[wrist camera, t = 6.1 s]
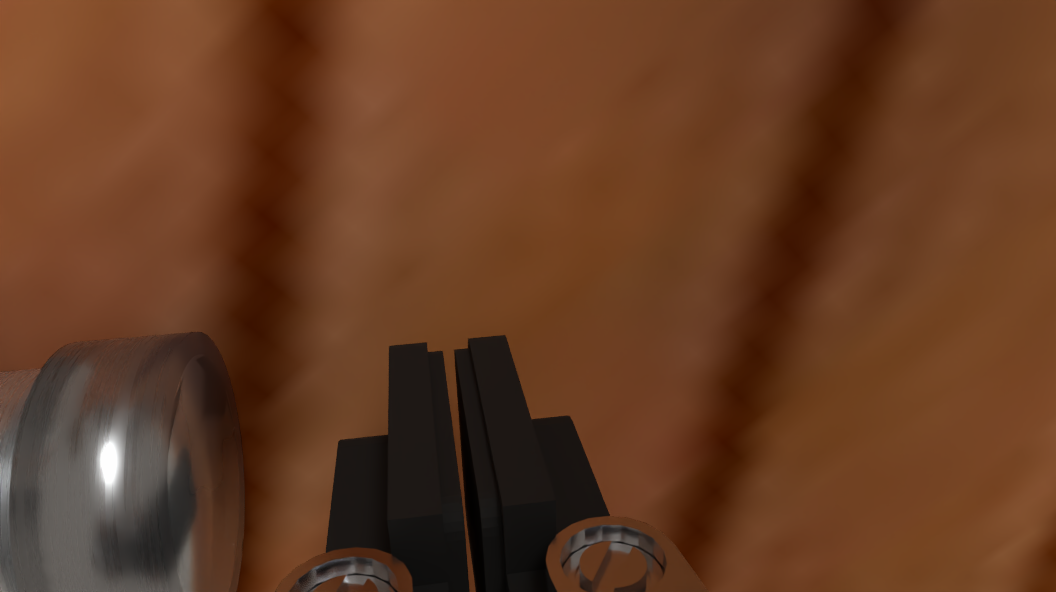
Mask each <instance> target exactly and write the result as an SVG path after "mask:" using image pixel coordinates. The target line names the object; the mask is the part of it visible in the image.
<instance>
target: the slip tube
mask: <svg viewBox="0 0 1056 592" xmlns="http://www.w3.org/2000/svg"><path fill="white" fill-rule="evenodd" d="M244 510H245V494H244V467H243V453H242V443H241V434H240V427H239V420H238V414H237V408H236V403H235V398H234V394H233V390H232V386H231V382H230V378H229V375H228V372H227V369H226V366H225V364H224V361H223V359H222V356H221V354H220V352H219V350H218V348H217V347H216V345H215V344H214V342H213V341H212V340H211V339H210V338H209V337H208V336H207V335H206V334H204V333H202V332H189V333H177V334H165V335H153V336H142V337H130V338H118V339H106V340H94V341H82V342H74V343H70V344H67V345H65V346H64V347H62V348H60V349H59V350H57V351H56V352H55V353H54V354H53V355H52V356H51V357H50V358H49V359H48V361H47V362H46V363H45V365H44V366H43V367H42V368H40V369H29V370H17V371H6V372H0V592H236V591H237V586H238V580H239V574H240V567H241V559H242V549H243V537H244Z"/></svg>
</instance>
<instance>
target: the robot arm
mask: <svg viewBox="0 0 1056 592" xmlns="http://www.w3.org/2000/svg"><path fill="white" fill-rule="evenodd" d="M454 354H455V369H456V383H457V397H458V411H459V425H460V439H461V453H462V467H463V481H464V495H465V508H466V519H467V528H468V535H469V543H470V550H471V558H472V565H473V573H474V580H475V588H476V592H709V591H708V590H707V588H706V587H705V586H704V584H703V583H702V581H701V580H700V579H699V577H698V576H697V575H696V573H695V572H694V570H693V569H692V568H691V566H690V565H689V564H688V562H687V561H686V559H685V558H684V557H683V555H682V554H681V553H680V551H679V550H678V548H677V547H676V546H675V544H674V543H673V542H672V541H671V540H670V539H669V538H668V537H667V536H666V535H665V534H664V533H663V532H661V531H659V530H658V529H656V528H654V527H652V526H650V525H649V524H647V523H644V522H641V521H637V520H634V519H630V518H626V517H614V516H610V515H609V512H608V510H607V507H606V505H605V502H604V500H603V497H602V495H601V492H600V489H599V487H598V484H597V482H596V479H595V477H594V474H593V472H592V469H591V467H590V464H589V462H588V459H587V457H586V454H585V452H584V449H583V446H582V444H581V441H580V439H579V436H578V434H577V431H576V429H575V426H574V424H573V421H572V419H571V418H570V416H559V417H550V418H541V419H531V417H530V414H529V411H528V407H527V404H526V401H525V397H524V394H523V391H522V388H521V384H520V381H519V378H518V375H517V371H516V368H515V365H514V361H513V358H512V355H511V352H510V348H509V345H508V342H507V338H506V336H505V335H502V336H492V337H481V338H470V339H468V349H458V350H454ZM275 592H469V580H468V566H467V553H466V539H465V527H464V516H463V506H462V497H461V489H460V482H459V474H458V466H457V458H456V451H455V443H454V435H453V428H452V420H451V412H450V404H449V397H448V389H447V381H446V373H445V366H444V358H443V351H437V352H428V350H427V343H416V344H405V345H395V346H389V409H388V435H382V436H373V437H363V438H354V439H345V440H340V441H339V443H338V449H337V458H336V467H335V475H334V484H333V493H332V501H331V510H330V519H329V528H328V536H327V545H326V553H324V554H321V555H318V556H315V557H313V558H312V559H310V560H308V561H306V562H305V563H303V564H301V565H299V566H298V567H296V568H295V569H294V570H293V571H292V572H291V573H289V574H288V575H287V576H286V577H285V578H284V579H283V580H282V581H281V582H280V584H279V586H278V587H277V589H276V591H275Z"/></svg>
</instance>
